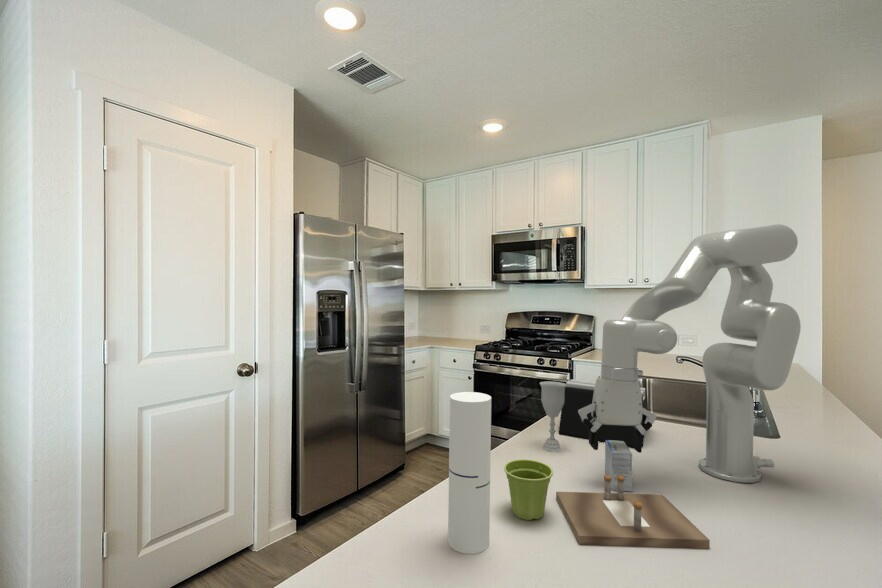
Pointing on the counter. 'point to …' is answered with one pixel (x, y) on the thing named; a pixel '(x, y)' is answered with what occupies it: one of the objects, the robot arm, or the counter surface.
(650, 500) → the pin board
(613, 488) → the medicine box
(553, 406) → the chalice
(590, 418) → the device stand
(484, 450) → the cylindrical container
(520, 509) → the plant pot
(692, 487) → the counter surface
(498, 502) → the counter surface
